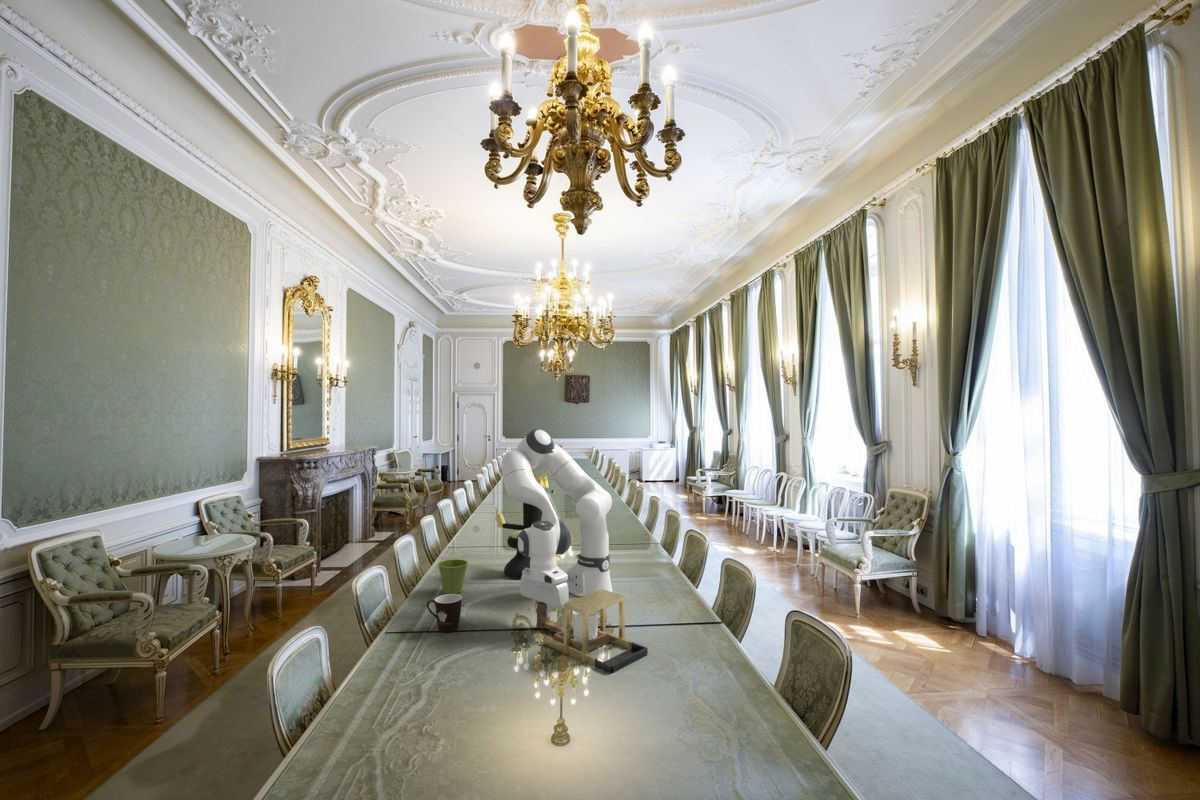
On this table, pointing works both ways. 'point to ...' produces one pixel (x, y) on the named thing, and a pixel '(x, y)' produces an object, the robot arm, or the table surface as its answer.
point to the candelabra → (529, 517)
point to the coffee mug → (447, 612)
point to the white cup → (579, 626)
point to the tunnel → (589, 606)
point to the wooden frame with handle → (559, 636)
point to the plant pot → (452, 575)
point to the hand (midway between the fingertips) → (543, 614)
